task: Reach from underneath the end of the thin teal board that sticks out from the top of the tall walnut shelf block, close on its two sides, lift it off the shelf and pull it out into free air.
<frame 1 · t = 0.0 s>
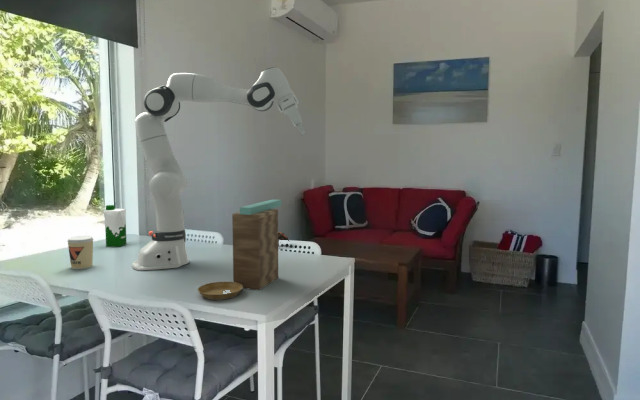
hand: (303, 134, 194), 54 cm above the table, tool tilted 30°, fingers open, 8 cm apart
plant saucer: (220, 295, 156), on the table
coffee cup: (82, 267, 191), on the table
milk carton: (116, 245, 233), on the table
pottery mug: (280, 246, 232), on the table
shelf block: (256, 282, 170), on the table
board: (262, 209, 172), point 26 cm above the table, touching shelf block
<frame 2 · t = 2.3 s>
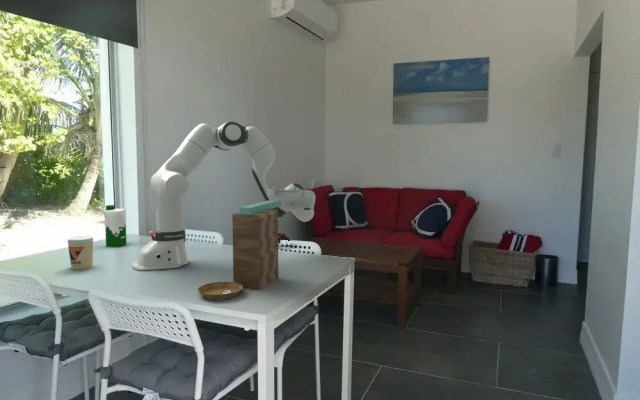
hand: (285, 188, 192), 32 cm above the table, tool pointing upward, fingers open, 8 cm apart
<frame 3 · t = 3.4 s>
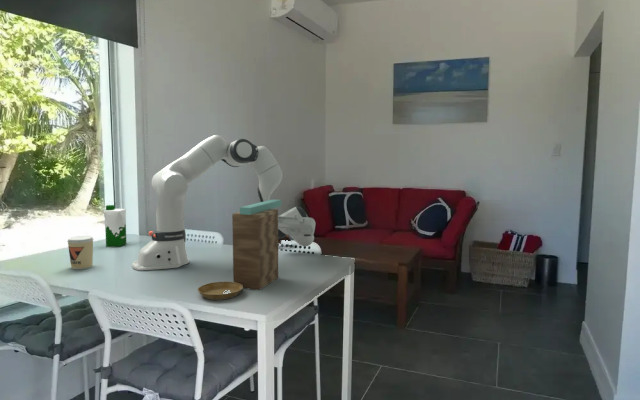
hand: (285, 215, 192), 21 cm above the table, tool pointing upward, fingers open, 8 cm apart
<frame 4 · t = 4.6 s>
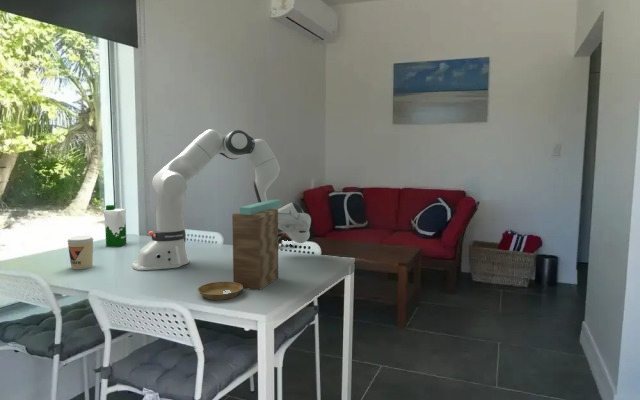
hand: (279, 211, 187), 23 cm above the table, tool pointing upward, fingers open, 8 cm apart
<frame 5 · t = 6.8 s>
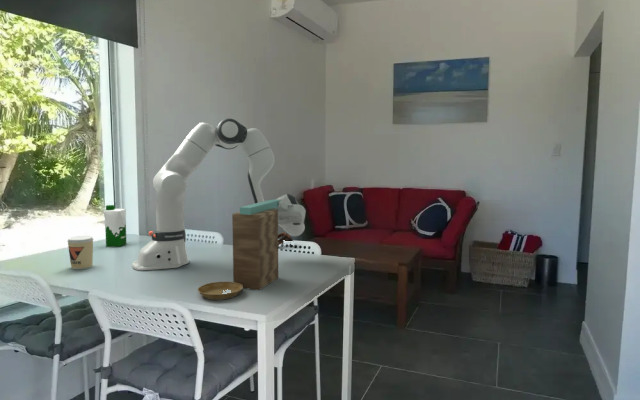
hand: (272, 202, 180), 28 cm above the table, tool pointing upward, fingers closed on board, 4 cm apart
board: (262, 209, 172), point 26 cm above the table, touching gripper, shelf block
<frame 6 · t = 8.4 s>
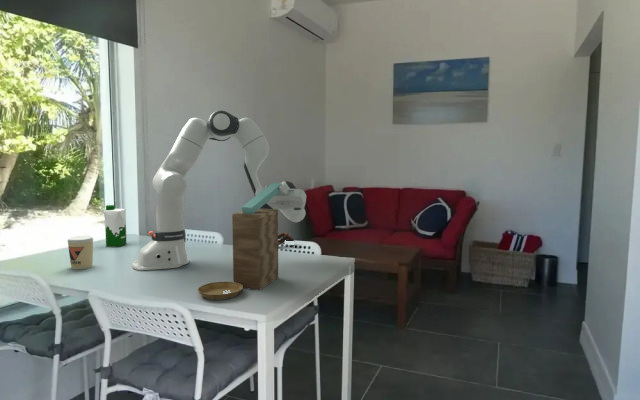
hand: (273, 186, 180), 34 cm above the table, tool pointing upward, fingers closed on board, 4 cm apart
board: (263, 200, 173), point 29 cm above the table, tilted 15°, touching gripper
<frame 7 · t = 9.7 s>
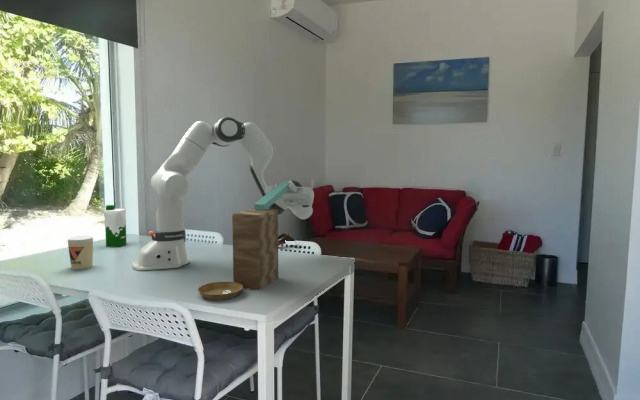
hand: (283, 185, 189), 34 cm above the table, tool pointing upward, fingers closed on board, 4 cm apart
board: (274, 198, 181), point 29 cm above the table, tilted 14°, touching gripper
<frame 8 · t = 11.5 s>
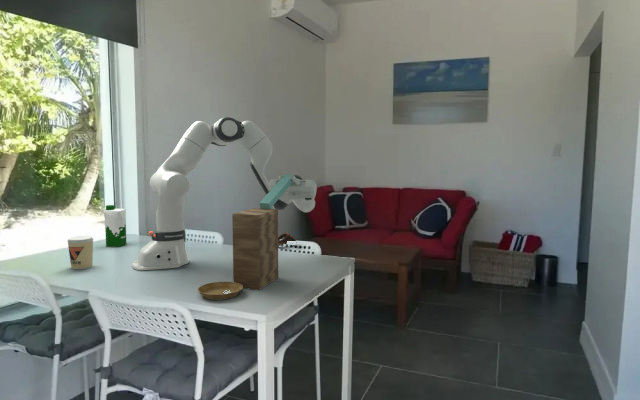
hand: (286, 177, 192), 36 cm above the table, tool pointing upward, fingers closed on board, 4 cm apart
board: (278, 193, 185), point 31 cm above the table, tilted 21°, touching gripper, shelf block
at the end: the gripper is holding board; board moved 15.5 cm from its start; board point 30.7 cm above the table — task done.
